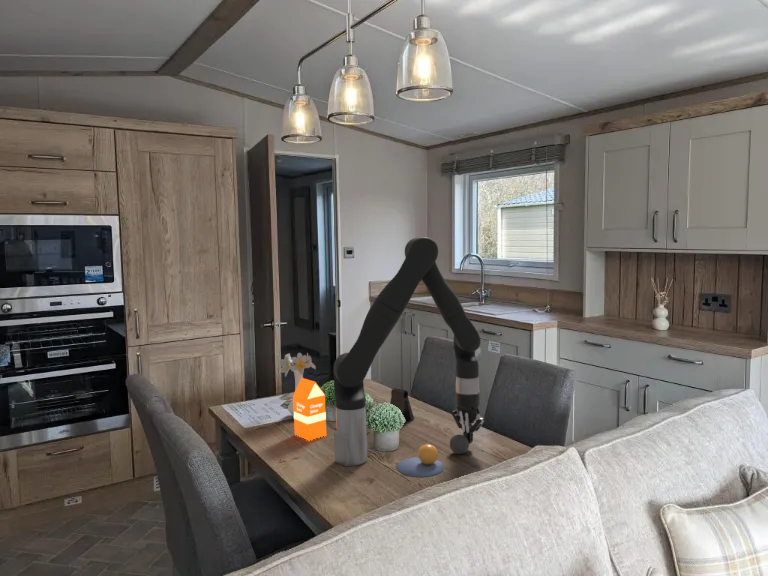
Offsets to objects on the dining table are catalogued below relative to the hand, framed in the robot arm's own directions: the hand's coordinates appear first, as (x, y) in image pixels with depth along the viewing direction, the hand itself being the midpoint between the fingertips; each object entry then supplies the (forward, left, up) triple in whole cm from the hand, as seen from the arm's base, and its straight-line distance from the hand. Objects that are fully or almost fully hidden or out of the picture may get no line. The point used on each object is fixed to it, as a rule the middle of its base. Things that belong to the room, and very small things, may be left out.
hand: (468, 442), depth 179 cm
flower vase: (-23, +68, -2) cm, 72 cm away
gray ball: (-5, -1, +1) cm, 5 cm away
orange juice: (-31, +46, -2) cm, 56 cm away
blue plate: (-21, 0, -2) cm, 21 cm away
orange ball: (-18, 0, +1) cm, 18 cm away
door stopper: (+2, +36, -2) cm, 36 cm away
